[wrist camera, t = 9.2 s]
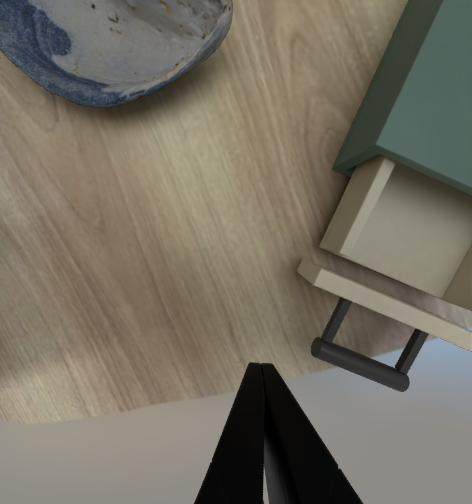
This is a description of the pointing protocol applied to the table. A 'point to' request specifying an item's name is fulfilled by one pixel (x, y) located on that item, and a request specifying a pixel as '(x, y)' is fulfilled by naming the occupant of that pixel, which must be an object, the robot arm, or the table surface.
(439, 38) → the cabinet
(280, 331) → the table surface
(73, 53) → the seashell
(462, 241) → the drawer
